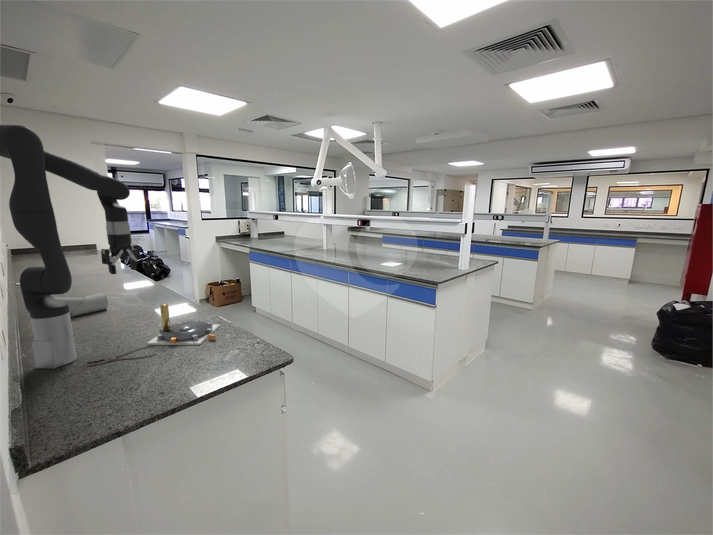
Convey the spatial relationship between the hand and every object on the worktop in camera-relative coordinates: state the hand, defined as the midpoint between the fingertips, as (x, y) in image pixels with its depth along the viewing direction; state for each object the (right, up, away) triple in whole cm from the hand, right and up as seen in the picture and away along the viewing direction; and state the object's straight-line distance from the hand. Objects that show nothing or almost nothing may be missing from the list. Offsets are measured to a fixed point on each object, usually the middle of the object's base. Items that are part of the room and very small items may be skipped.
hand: (123, 271), depth 126 cm
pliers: (+14, -31, -17) cm, 38 cm away
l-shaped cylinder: (-43, -21, +26) cm, 55 cm away
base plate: (+26, -27, +4) cm, 38 cm away
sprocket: (+24, -26, +3) cm, 35 cm away
